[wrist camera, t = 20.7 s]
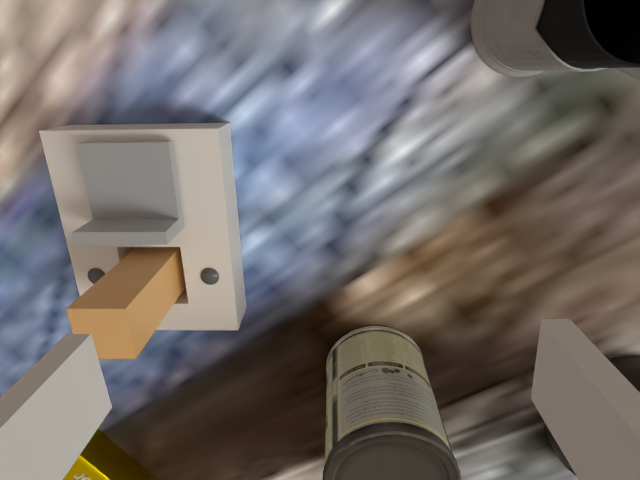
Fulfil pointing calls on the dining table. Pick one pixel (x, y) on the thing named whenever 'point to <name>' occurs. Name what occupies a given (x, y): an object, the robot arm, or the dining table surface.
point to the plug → (129, 301)
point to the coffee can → (383, 411)
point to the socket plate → (198, 211)
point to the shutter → (130, 193)
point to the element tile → (106, 462)
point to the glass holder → (557, 35)
